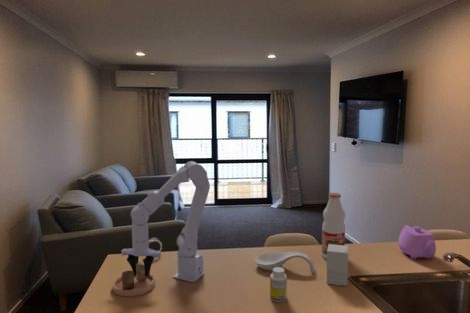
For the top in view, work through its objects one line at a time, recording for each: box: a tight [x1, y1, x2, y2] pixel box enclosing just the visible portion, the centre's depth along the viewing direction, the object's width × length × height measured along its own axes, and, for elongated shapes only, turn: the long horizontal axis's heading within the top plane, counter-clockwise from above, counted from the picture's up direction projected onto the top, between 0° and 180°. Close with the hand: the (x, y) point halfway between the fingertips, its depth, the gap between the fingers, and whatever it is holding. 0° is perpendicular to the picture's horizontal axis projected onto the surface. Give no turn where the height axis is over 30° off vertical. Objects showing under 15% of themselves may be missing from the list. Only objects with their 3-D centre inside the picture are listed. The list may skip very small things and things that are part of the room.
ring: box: [149, 237, 163, 252], centre depth 150 cm, size 7×3×8 cm, turn 95°
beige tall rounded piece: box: [136, 261, 148, 281], centre depth 125 cm, size 4×4×6 cm
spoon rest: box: [254, 251, 315, 274], centre depth 137 cm, size 24×12×7 cm, turn 77°
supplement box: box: [326, 244, 349, 287], centre depth 126 cm, size 7×7×13 cm
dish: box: [112, 272, 156, 298], centre depth 123 cm, size 15×15×2 cm
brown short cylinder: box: [121, 270, 134, 290], centre depth 120 cm, size 4×4×6 cm
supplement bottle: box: [269, 266, 288, 303], centre depth 114 cm, size 6×6×10 cm
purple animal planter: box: [398, 225, 437, 260], centre depth 148 cm, size 20×12×13 cm, turn 5°
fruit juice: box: [321, 192, 346, 260], centre depth 146 cm, size 9×9×28 cm
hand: (141, 274), depth 125 cm, fingers closed on beige tall rounded piece, 4 cm apart
